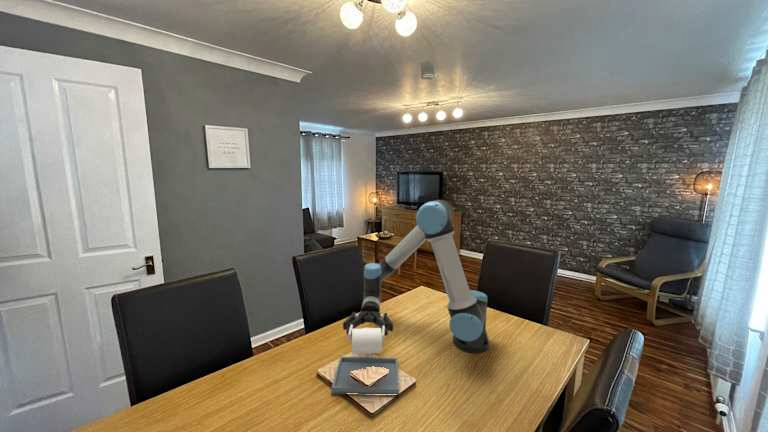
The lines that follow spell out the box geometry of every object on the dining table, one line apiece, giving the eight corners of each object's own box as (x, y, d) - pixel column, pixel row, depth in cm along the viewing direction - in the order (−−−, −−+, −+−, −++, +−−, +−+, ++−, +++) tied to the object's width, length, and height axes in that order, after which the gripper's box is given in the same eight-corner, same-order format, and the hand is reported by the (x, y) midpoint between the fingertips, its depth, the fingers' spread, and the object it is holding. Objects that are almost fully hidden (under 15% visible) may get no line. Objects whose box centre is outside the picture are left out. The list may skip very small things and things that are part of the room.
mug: (382, 357, 100) (382, 335, 99) (352, 359, 99) (352, 336, 98) (378, 338, 112) (379, 318, 111) (352, 339, 111) (352, 319, 110)
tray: (397, 364, 115) (397, 358, 115) (398, 396, 99) (398, 389, 98) (340, 362, 116) (340, 356, 116) (331, 394, 99) (331, 387, 99)
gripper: (398, 318, 123) (400, 349, 101) (342, 317, 124) (331, 347, 102) (399, 301, 122) (400, 328, 100) (342, 299, 123) (331, 326, 101)
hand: (366, 338), depth 101 cm, fingers closed on mug, 11 cm apart
